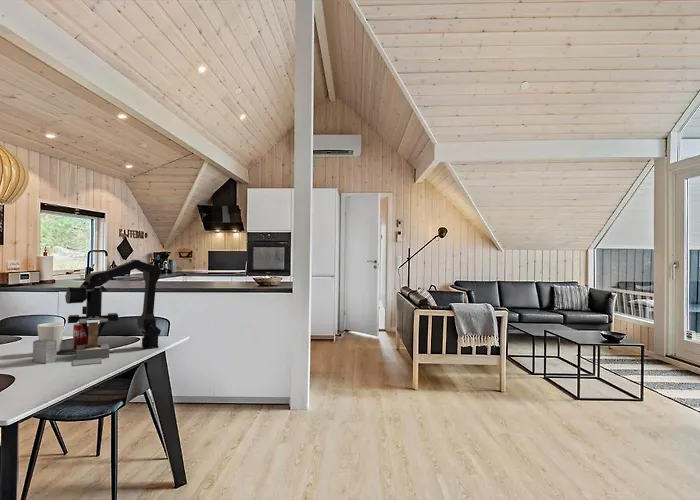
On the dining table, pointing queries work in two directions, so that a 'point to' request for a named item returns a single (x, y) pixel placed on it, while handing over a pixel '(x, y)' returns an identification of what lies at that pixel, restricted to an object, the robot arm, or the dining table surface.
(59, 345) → the cup
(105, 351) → the box
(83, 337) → the soda can
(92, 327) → the long wooden beam
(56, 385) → the dining table surface
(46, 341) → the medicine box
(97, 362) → the slate mat
